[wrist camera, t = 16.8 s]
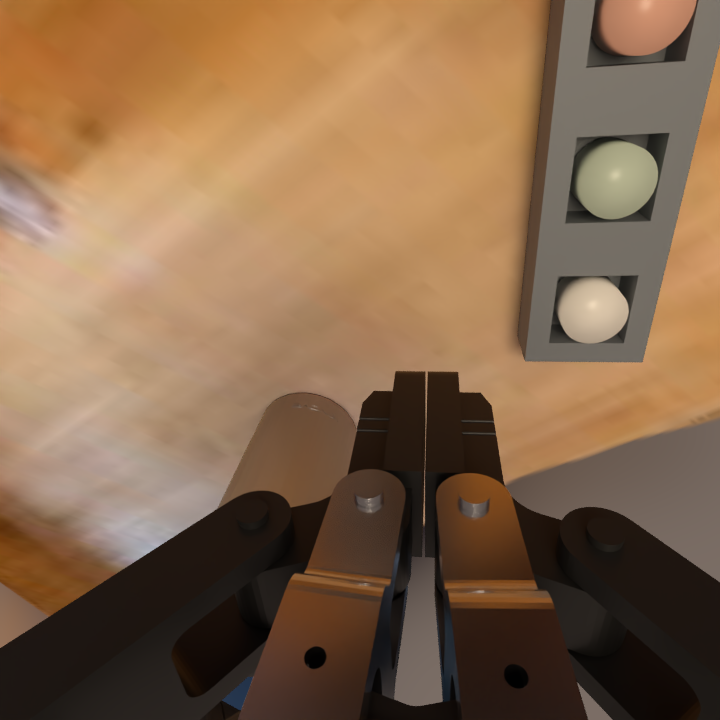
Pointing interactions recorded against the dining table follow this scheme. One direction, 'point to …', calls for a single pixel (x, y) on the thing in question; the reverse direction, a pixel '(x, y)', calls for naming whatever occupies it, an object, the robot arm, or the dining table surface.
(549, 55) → the button panel
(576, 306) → the cream button
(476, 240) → the dining table surface
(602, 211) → the sage button
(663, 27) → the terracotta button
